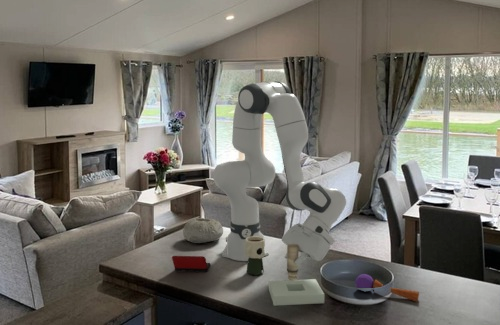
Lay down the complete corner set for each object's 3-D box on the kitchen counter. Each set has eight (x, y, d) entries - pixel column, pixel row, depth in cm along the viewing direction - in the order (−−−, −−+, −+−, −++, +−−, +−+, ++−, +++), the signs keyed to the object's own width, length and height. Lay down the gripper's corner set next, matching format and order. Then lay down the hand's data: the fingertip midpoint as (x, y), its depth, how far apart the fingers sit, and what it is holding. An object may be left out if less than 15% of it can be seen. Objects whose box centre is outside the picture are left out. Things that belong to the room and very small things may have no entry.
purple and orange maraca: (417, 294, 146) (353, 278, 155) (415, 310, 148) (352, 293, 157) (420, 283, 151) (358, 268, 160) (418, 299, 153) (357, 283, 162)
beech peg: (285, 276, 166) (286, 243, 164) (296, 276, 166) (297, 243, 164) (287, 281, 162) (288, 247, 160) (299, 280, 162) (299, 247, 160)
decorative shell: (208, 232, 224) (208, 212, 222) (231, 241, 210) (231, 219, 209) (175, 240, 212) (175, 218, 211) (198, 250, 199) (197, 227, 197)
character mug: (256, 280, 167) (255, 244, 165) (239, 276, 171) (238, 241, 169) (270, 270, 176) (270, 236, 174) (254, 266, 180) (254, 233, 178)
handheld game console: (211, 265, 182) (210, 247, 181) (205, 276, 172) (205, 256, 170) (179, 264, 184) (178, 246, 182) (171, 275, 173) (171, 255, 172)
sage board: (268, 289, 159) (268, 281, 159) (315, 287, 161) (315, 279, 160) (273, 305, 147) (273, 296, 147) (324, 303, 149) (324, 294, 148)
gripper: (291, 217, 173) (269, 247, 170) (328, 232, 156) (303, 266, 153) (301, 227, 176) (279, 256, 173) (338, 242, 159) (314, 276, 156)
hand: (291, 261), depth 163 cm, fingers closed on beech peg, 4 cm apart
